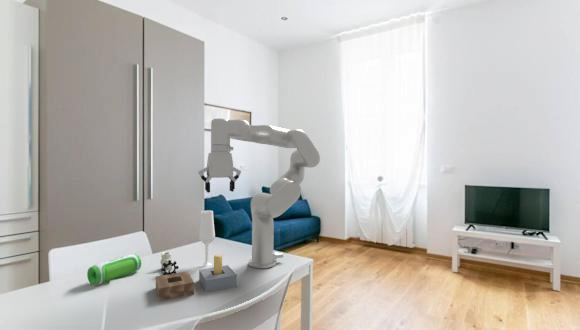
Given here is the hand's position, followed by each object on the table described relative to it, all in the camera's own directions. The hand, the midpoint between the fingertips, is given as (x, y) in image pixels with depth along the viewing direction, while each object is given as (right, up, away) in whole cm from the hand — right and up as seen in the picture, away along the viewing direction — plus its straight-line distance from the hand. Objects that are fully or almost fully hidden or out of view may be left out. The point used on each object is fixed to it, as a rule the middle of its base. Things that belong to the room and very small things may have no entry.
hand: (220, 191), depth 125 cm
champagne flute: (-7, -33, +7) cm, 35 cm away
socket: (+2, -34, -12) cm, 36 cm away
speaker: (-39, -33, -6) cm, 52 cm away
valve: (-22, -33, +1) cm, 40 cm away
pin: (+2, -33, -12) cm, 35 cm away
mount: (-11, -34, -19) cm, 40 cm away
